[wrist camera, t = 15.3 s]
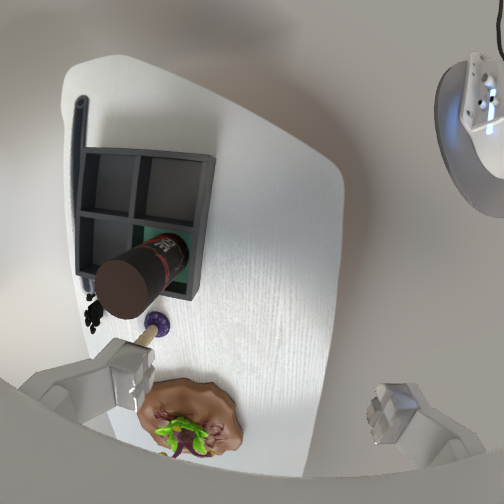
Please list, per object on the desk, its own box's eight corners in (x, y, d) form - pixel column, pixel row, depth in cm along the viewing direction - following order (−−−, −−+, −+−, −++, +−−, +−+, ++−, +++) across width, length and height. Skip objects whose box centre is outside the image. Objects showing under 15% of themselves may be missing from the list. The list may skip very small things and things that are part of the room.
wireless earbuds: (95, 287, 42) (78, 298, 38) (107, 289, 42) (91, 301, 38) (98, 324, 44) (84, 338, 39) (110, 327, 44) (97, 341, 39)
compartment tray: (99, 149, 38) (82, 147, 33) (216, 158, 37) (209, 155, 33) (91, 266, 42) (75, 275, 37) (199, 289, 42) (191, 301, 37)
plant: (125, 375, 46) (100, 414, 35) (229, 376, 45) (220, 423, 34) (158, 445, 51) (144, 482, 40) (247, 448, 49) (243, 491, 38)
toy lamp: (138, 319, 43) (86, 378, 27) (154, 302, 42) (103, 360, 26) (159, 340, 44) (116, 406, 28) (177, 324, 43) (136, 391, 27)
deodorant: (192, 238, 39) (151, 269, 24) (185, 278, 40) (145, 327, 26) (153, 228, 39) (96, 252, 24) (147, 268, 40) (93, 308, 26)
